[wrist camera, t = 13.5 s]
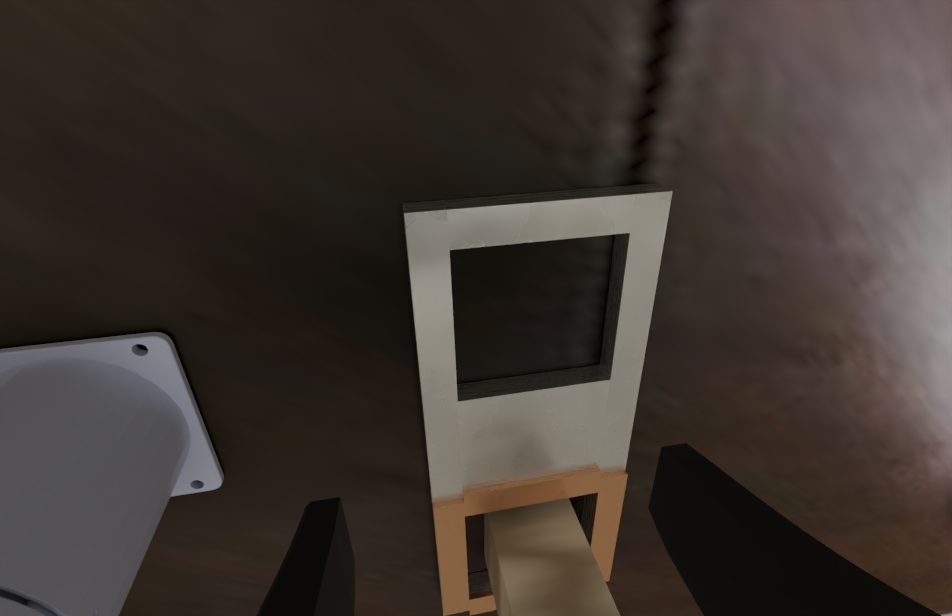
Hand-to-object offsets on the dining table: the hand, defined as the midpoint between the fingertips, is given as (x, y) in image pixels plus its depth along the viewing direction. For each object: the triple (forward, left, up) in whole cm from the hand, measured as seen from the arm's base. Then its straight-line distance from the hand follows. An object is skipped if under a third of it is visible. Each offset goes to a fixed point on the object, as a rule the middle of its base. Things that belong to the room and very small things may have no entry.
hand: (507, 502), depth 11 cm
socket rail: (+4, -8, -10) cm, 14 cm away
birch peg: (+4, -15, -11) cm, 19 cm away
